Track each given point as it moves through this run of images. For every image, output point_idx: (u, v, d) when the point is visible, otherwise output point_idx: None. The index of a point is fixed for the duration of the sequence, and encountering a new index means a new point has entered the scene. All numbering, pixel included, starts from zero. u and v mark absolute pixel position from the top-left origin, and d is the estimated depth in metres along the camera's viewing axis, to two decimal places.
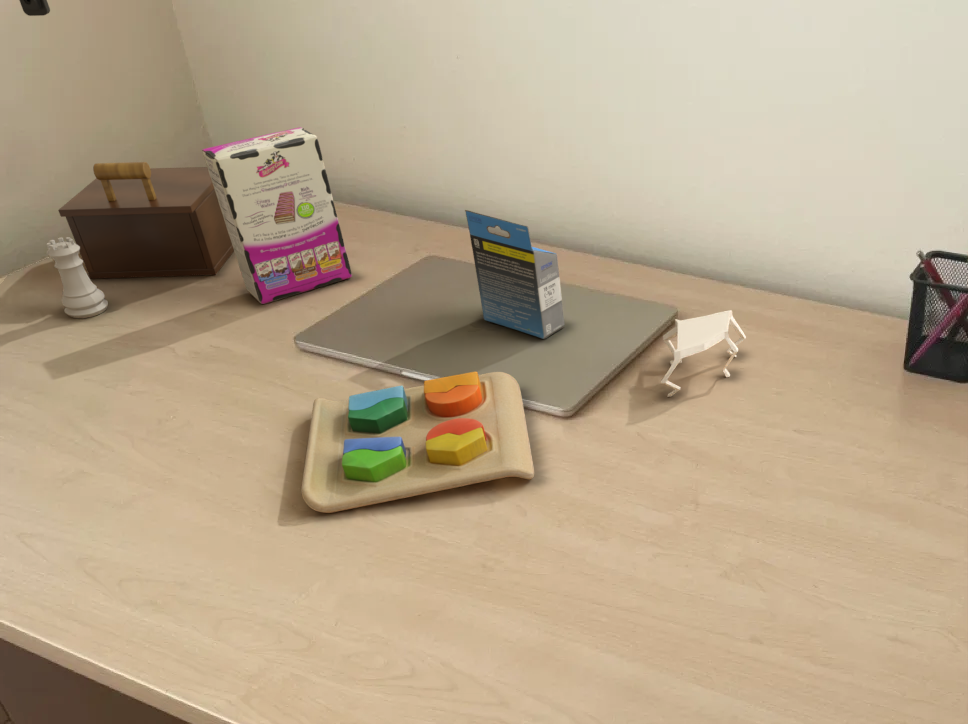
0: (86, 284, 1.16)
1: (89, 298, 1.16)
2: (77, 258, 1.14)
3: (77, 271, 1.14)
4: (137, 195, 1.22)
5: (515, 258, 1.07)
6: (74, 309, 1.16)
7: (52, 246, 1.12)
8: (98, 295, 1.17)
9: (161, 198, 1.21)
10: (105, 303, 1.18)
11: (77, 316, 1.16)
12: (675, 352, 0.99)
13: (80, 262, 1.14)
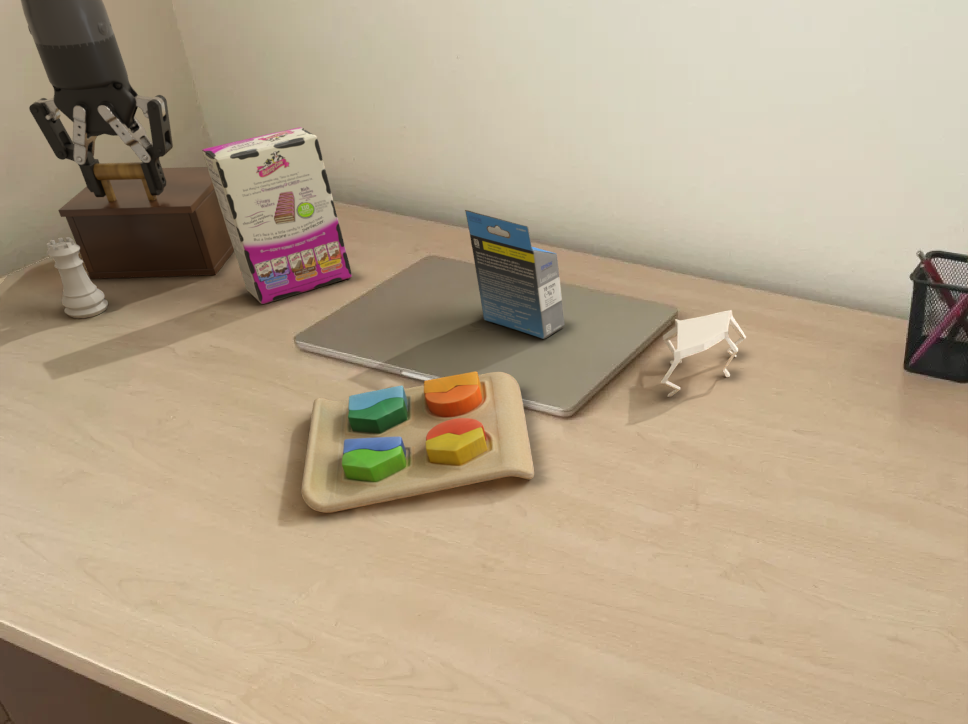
0: (86, 284, 1.16)
1: (89, 298, 1.16)
2: (77, 258, 1.14)
3: (77, 271, 1.14)
4: (137, 195, 1.22)
5: (515, 258, 1.07)
6: (74, 309, 1.16)
7: (52, 246, 1.12)
8: (98, 295, 1.17)
9: (161, 198, 1.21)
10: (105, 303, 1.18)
11: (77, 316, 1.16)
12: (675, 352, 0.99)
13: (80, 262, 1.14)
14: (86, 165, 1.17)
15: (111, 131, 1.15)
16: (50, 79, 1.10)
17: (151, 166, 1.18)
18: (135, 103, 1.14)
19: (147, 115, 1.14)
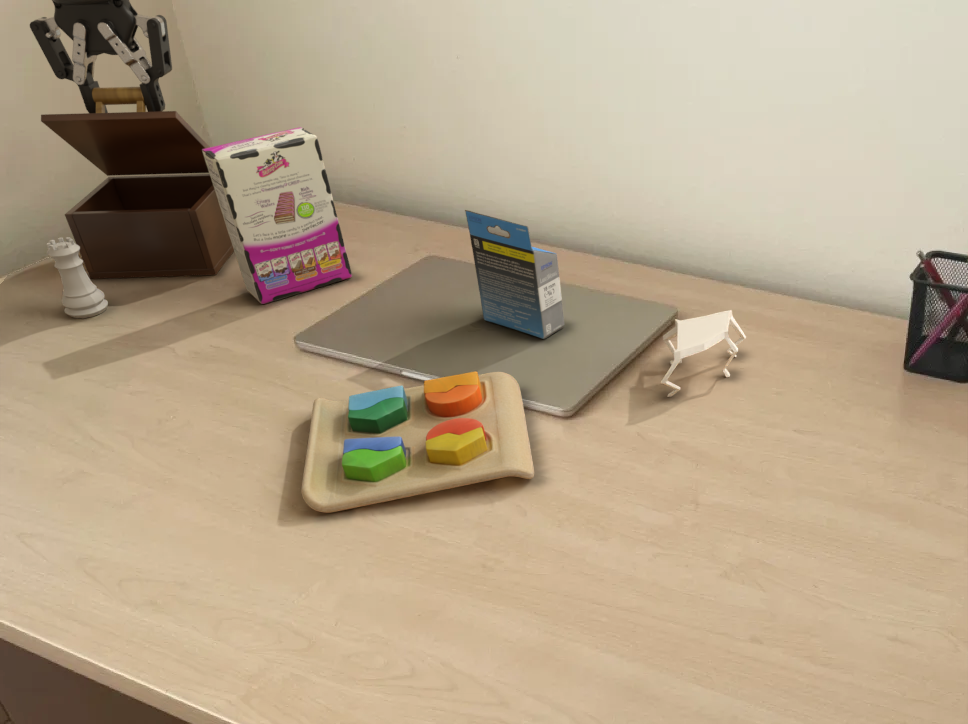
0: (86, 284, 1.16)
1: (89, 298, 1.16)
2: (77, 258, 1.14)
3: (77, 271, 1.14)
4: None
5: (515, 258, 1.07)
6: (74, 309, 1.16)
7: (52, 246, 1.12)
8: (98, 295, 1.17)
9: None
10: (105, 303, 1.18)
11: (77, 316, 1.16)
12: (675, 352, 0.99)
13: (80, 262, 1.14)
14: (85, 85, 1.18)
15: (111, 50, 1.16)
16: None
17: (150, 88, 1.19)
18: (135, 22, 1.15)
19: (147, 34, 1.15)
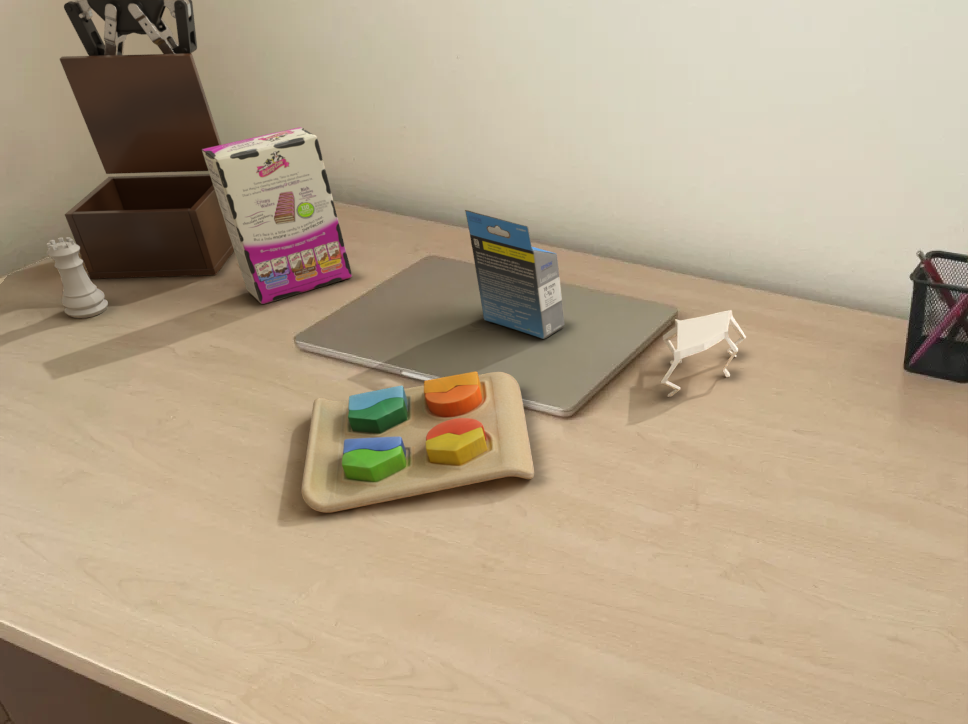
0: (86, 284, 1.16)
1: (89, 298, 1.16)
2: (77, 258, 1.14)
3: (77, 271, 1.14)
4: None
5: (515, 258, 1.07)
6: (74, 309, 1.16)
7: (52, 246, 1.12)
8: (98, 295, 1.17)
9: None
10: (105, 303, 1.18)
11: (77, 316, 1.16)
12: (675, 352, 0.99)
13: (80, 262, 1.14)
14: None
15: (140, 30, 1.23)
16: None
17: None
18: (163, 3, 1.21)
19: (174, 14, 1.22)
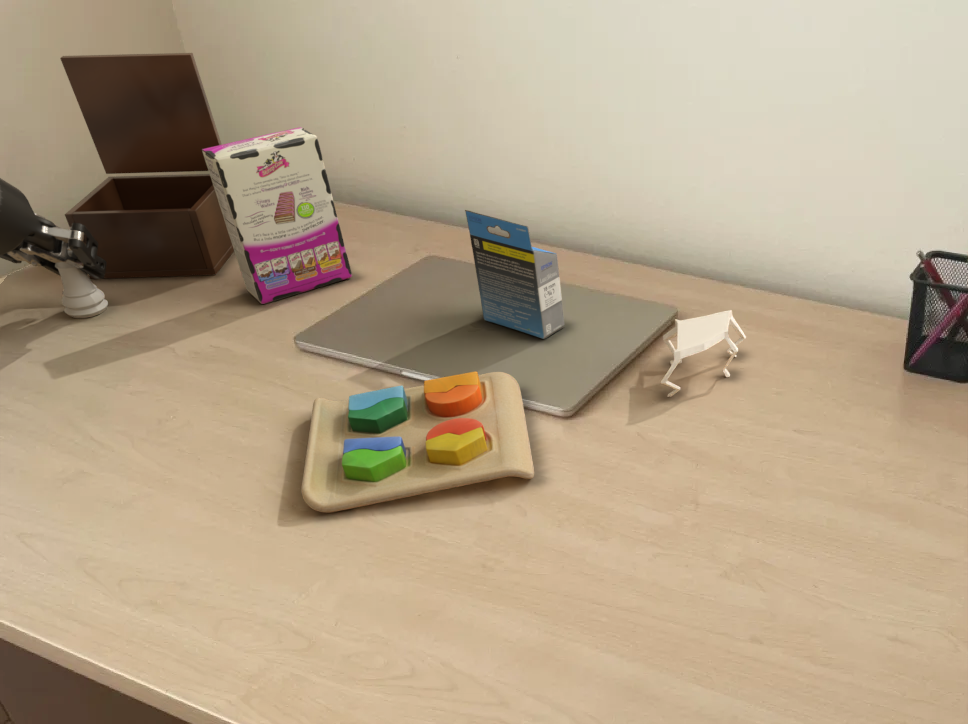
0: (87, 284, 1.16)
1: (89, 298, 1.16)
2: None
3: (77, 271, 1.14)
4: None
5: (515, 258, 1.07)
6: (74, 309, 1.16)
7: None
8: (98, 295, 1.17)
9: None
10: (105, 303, 1.18)
11: (77, 316, 1.16)
12: (675, 352, 0.99)
13: None
14: (43, 264, 1.14)
15: None
16: None
17: (86, 265, 1.14)
18: (53, 238, 1.06)
19: (70, 250, 1.08)
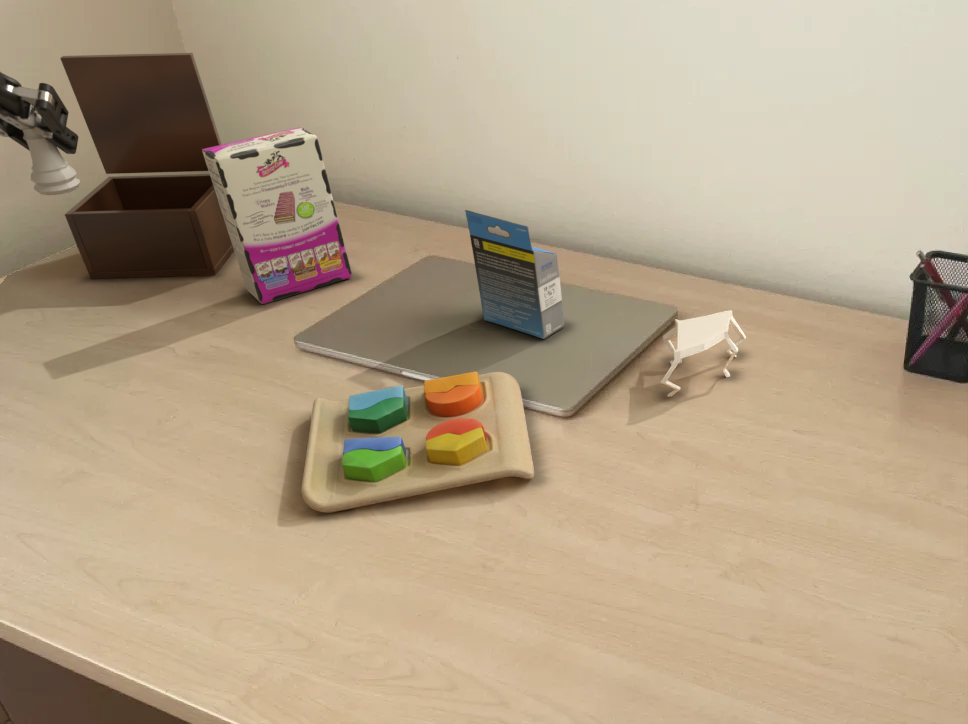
0: (57, 158, 1.10)
1: (59, 173, 1.10)
2: None
3: (47, 143, 1.09)
4: None
5: (515, 258, 1.07)
6: (43, 185, 1.10)
7: None
8: (69, 171, 1.11)
9: None
10: (77, 181, 1.12)
11: (47, 192, 1.10)
12: (675, 352, 0.99)
13: None
14: (11, 135, 1.08)
15: None
16: None
17: (56, 136, 1.08)
18: (19, 98, 1.01)
19: (37, 113, 1.02)
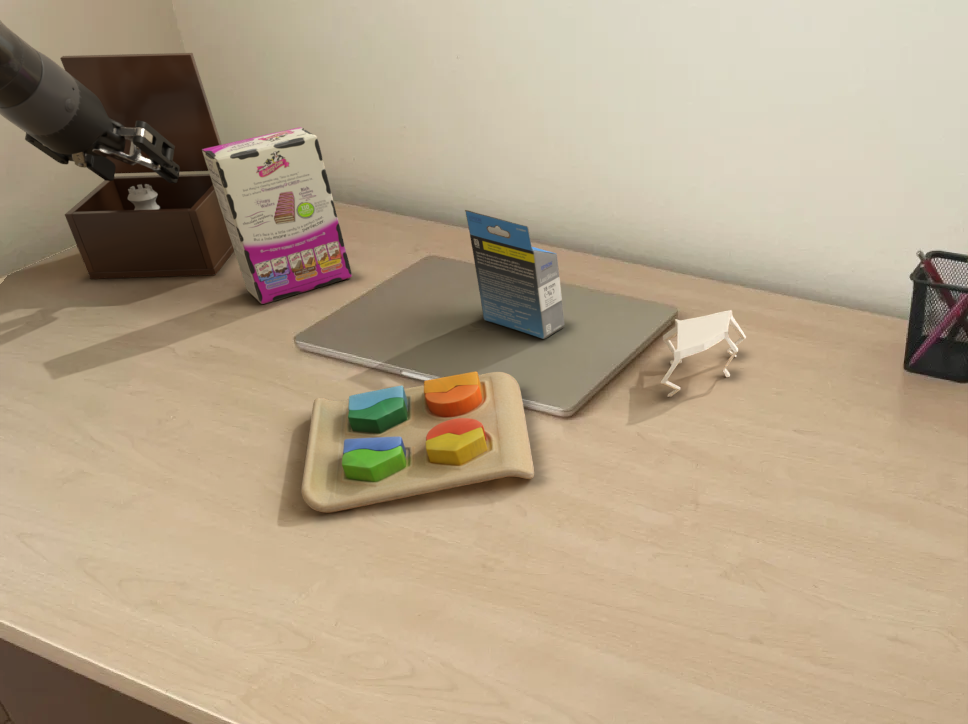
0: None
1: None
2: (155, 203, 1.25)
3: None
4: None
5: (515, 258, 1.07)
6: None
7: (133, 192, 1.23)
8: None
9: None
10: None
11: None
12: (675, 352, 0.99)
13: (157, 207, 1.25)
14: (88, 166, 1.21)
15: None
16: None
17: (162, 168, 1.20)
18: (124, 140, 1.14)
19: (138, 148, 1.15)
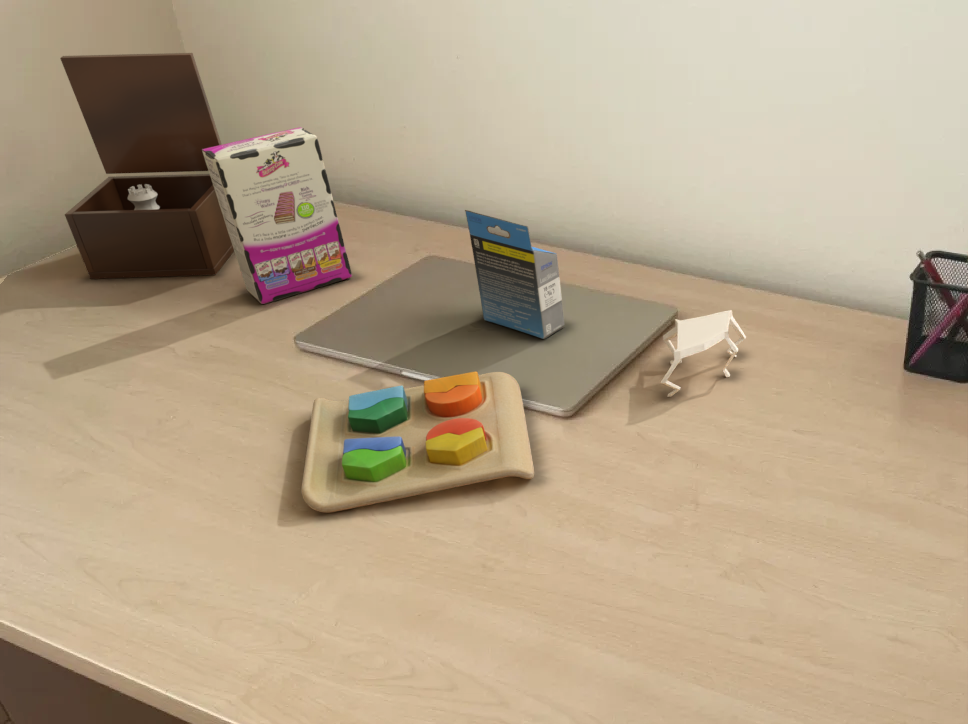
0: None
1: None
2: (155, 203, 1.25)
3: None
4: None
5: (515, 258, 1.07)
6: None
7: (133, 191, 1.23)
8: None
9: None
10: None
11: None
12: (675, 352, 0.99)
13: (157, 207, 1.25)
14: None
15: None
16: None
17: None
18: None
19: None
